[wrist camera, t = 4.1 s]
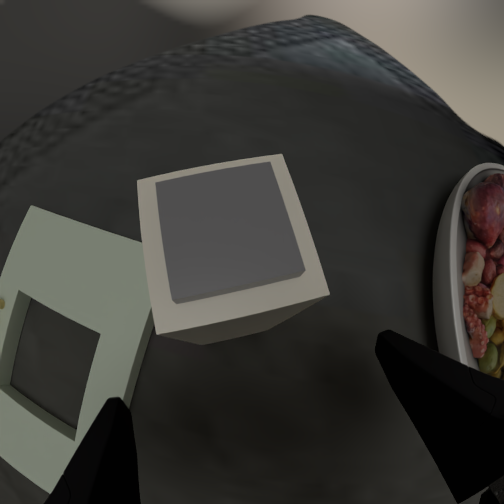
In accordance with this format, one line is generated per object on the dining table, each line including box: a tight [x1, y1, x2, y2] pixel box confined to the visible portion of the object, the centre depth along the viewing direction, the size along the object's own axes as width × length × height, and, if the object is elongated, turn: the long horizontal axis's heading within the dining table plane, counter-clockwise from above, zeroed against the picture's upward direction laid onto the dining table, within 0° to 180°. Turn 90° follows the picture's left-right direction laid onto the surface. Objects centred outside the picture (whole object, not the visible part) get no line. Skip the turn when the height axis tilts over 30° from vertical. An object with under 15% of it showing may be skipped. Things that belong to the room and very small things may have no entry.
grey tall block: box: [137, 154, 330, 345], centre depth 14 cm, size 5×4×14 cm
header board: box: [0, 205, 154, 494], centre depth 16 cm, size 22×14×3 cm, turn 164°
